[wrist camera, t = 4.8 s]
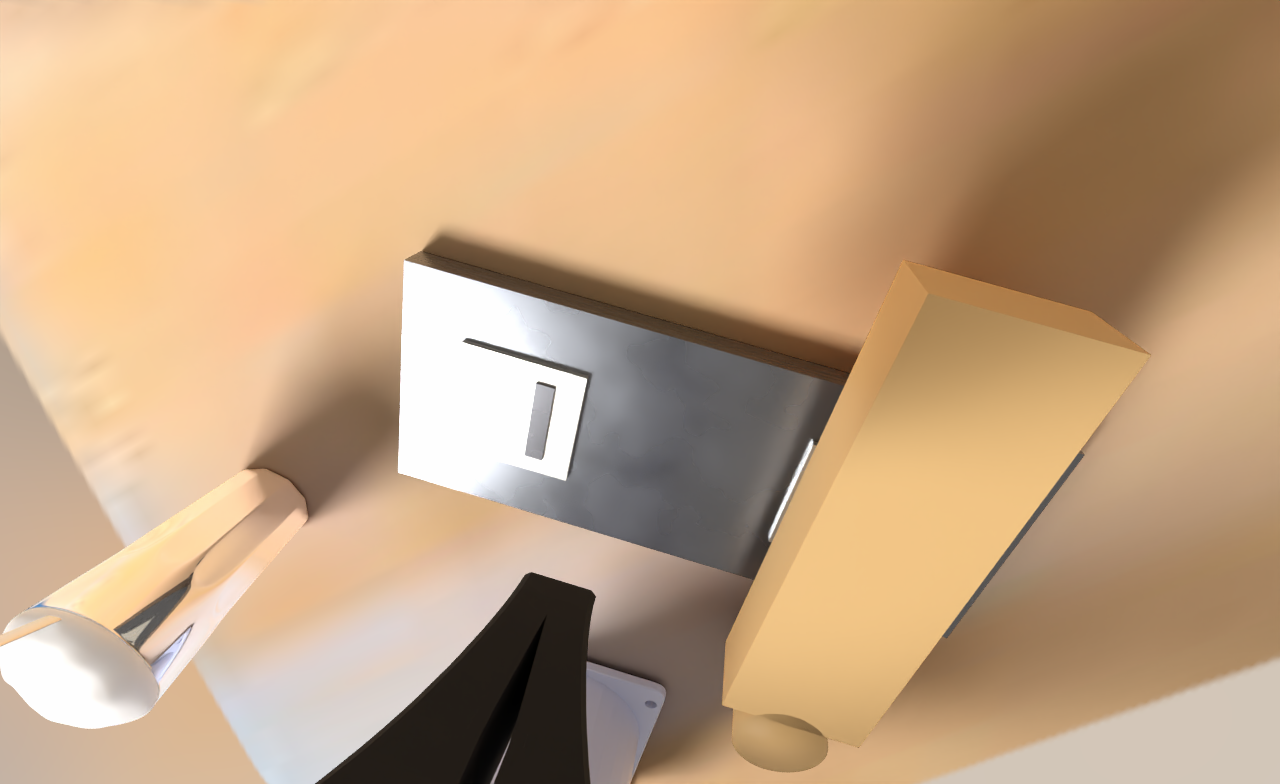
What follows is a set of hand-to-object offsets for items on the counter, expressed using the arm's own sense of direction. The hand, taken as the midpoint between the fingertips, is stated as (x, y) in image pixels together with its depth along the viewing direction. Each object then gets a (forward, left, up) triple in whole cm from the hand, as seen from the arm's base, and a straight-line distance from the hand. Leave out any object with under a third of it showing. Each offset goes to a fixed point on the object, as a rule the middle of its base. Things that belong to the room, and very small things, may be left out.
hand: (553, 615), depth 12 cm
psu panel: (-1, -3, -9) cm, 9 cm away
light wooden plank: (-1, -7, -7) cm, 10 cm away
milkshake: (-9, +13, -9) cm, 19 cm away
